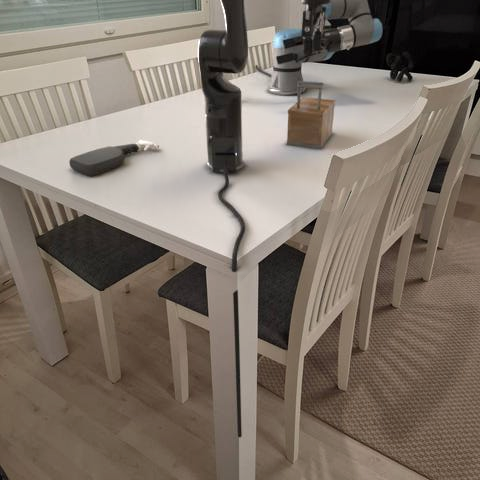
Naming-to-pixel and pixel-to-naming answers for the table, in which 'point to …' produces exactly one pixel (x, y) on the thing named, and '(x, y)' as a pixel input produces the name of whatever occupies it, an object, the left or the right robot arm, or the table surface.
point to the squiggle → (399, 66)
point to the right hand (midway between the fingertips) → (280, 52)
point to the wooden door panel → (311, 102)
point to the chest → (309, 129)
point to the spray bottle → (106, 157)
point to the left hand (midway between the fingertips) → (312, 51)
